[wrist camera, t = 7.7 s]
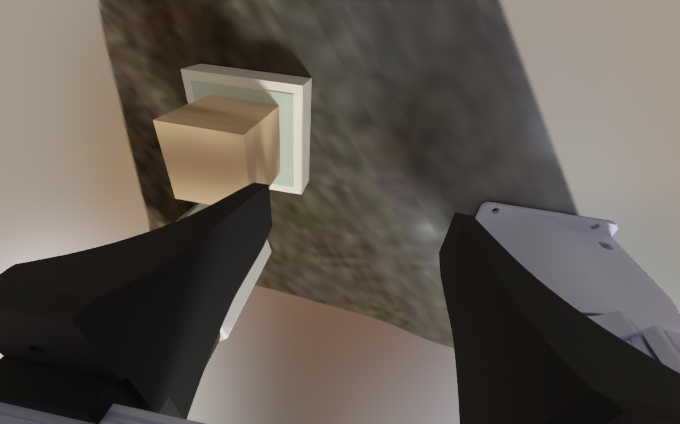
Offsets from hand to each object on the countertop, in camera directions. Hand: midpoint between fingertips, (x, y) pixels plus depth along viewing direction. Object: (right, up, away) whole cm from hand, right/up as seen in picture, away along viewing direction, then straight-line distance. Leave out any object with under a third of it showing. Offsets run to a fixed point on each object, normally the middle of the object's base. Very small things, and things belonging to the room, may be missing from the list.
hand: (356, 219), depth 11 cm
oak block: (-7, +5, +8) cm, 11 cm away
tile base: (-6, +6, +10) cm, 13 cm away
